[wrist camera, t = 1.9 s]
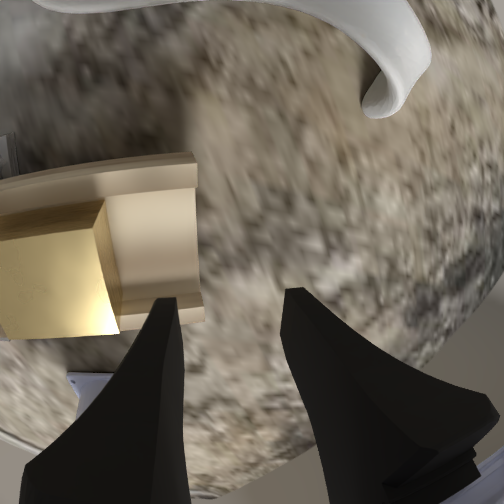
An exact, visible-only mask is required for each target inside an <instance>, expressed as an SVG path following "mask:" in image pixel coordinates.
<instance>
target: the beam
mask: <svg viewBox="0 0 504 504" xmlns="http://www.w3.org/2000/svg"><path fill="white" fill-rule="evenodd" d="M195 188H198V177H197V162H196V160H195V158H194V155H193V153H192V152H180V153H167V154H156V155H146V156H136V157H127V158H119V159H111V160H104V161H97V162H90V163H83V164H77V165H71V166H65V167H59V168H54V169H49V170H43V171H38V172H33V173H29V174H24V175H19V176H15V177H11V178H6V179H2V180H0V216H4V215H10V214H15V213H20V212H26V211H32V210H37V209H43V208H49V207H56V206H62V205H69V204H75V203H82V202H90V201H97V200H105V202H106V208H107V215H108V221H109V227H110V233H111V238H112V244H113V249H114V254H115V259H116V264H117V268H118V273H119V278H120V282H121V286H122V290H123V298H122V308H121V320H120V331H126V330H136V329H141V328H142V326H143V324H144V322H145V320H146V318H147V316H148V314H149V312H150V310H151V308H152V306H153V303H154V301H155V300H156V299H157V298H167V297H176V299H177V306H178V314H179V320H180V325H182V324H190V323H198V322H205V314H204V305H203V300H202V296H201V291H200V277H199V262H198V245H197V226H196V203H195ZM0 338H7V335H6V334H5V332H4V330H3V328H2V326H1V324H0Z"/></svg>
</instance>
